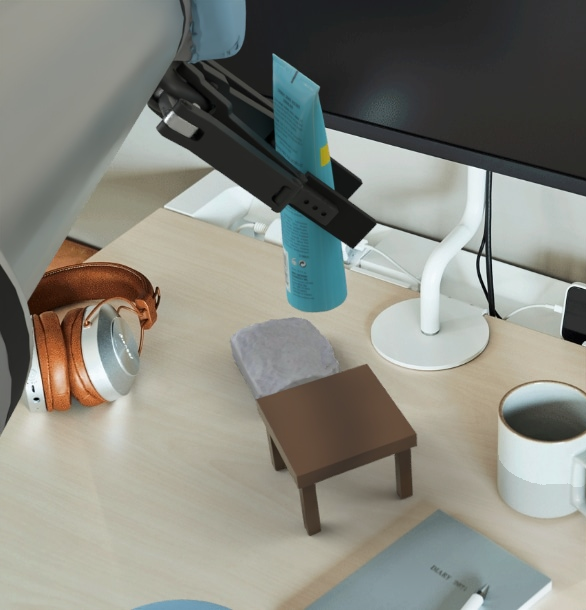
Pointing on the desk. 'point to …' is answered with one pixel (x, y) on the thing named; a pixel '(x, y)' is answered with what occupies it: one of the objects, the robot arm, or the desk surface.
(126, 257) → the desk surface
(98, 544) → the desk surface
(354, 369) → the stool
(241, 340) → the stone block
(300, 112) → the tube
